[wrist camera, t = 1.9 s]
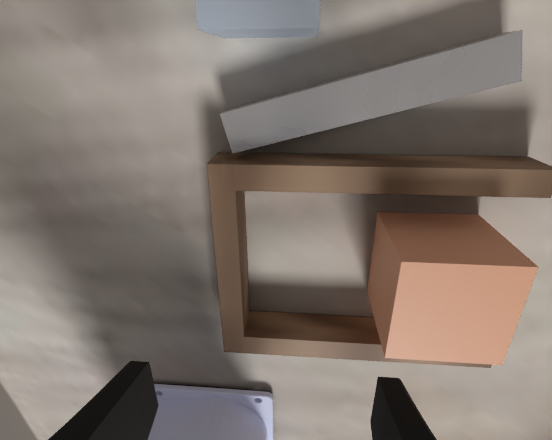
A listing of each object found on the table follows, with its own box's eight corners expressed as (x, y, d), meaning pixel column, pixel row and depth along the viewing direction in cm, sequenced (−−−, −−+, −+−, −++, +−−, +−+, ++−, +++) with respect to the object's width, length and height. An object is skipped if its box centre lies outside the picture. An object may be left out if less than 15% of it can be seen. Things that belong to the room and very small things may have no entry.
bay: (231, 325, 21) (224, 351, 19) (218, 152, 17) (206, 164, 15) (472, 338, 20) (490, 367, 18) (528, 156, 16) (560, 170, 14)
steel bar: (239, 144, 17) (232, 153, 15) (228, 108, 16) (219, 113, 15) (497, 78, 15) (521, 80, 13) (497, 33, 14) (522, 30, 13)
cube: (366, 290, 20) (384, 357, 15) (377, 211, 18) (401, 261, 13) (456, 294, 19) (502, 365, 15) (477, 214, 17) (538, 267, 13)
